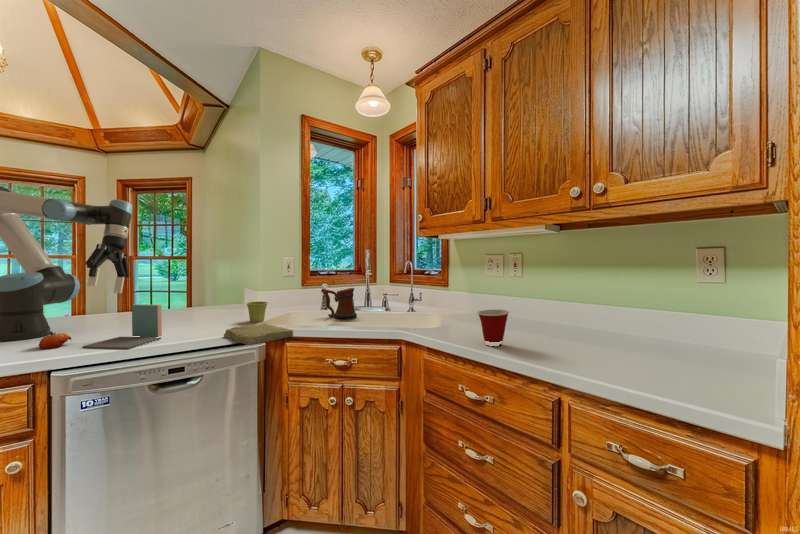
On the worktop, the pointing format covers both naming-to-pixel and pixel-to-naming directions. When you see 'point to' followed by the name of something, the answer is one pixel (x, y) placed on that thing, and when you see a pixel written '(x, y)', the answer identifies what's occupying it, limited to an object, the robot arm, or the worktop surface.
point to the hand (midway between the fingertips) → (105, 289)
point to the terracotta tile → (146, 320)
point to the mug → (341, 303)
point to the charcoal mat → (121, 342)
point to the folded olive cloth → (257, 333)
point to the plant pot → (256, 311)
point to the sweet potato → (53, 340)
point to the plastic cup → (493, 324)
